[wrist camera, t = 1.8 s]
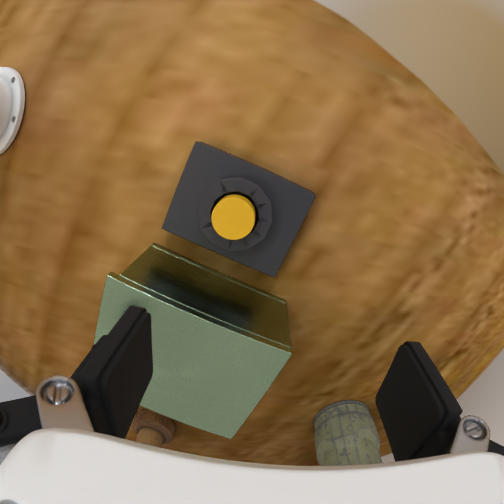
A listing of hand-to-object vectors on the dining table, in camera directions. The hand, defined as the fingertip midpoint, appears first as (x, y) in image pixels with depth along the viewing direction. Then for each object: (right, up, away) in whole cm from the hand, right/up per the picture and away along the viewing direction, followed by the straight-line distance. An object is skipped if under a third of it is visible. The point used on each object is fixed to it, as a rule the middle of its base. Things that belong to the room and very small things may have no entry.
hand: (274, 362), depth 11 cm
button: (-2, +7, +17) cm, 18 cm away
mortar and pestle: (-16, -23, +32) cm, 42 cm away
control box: (-2, +8, +20) cm, 22 cm away
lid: (-8, -7, +16) cm, 19 cm away
